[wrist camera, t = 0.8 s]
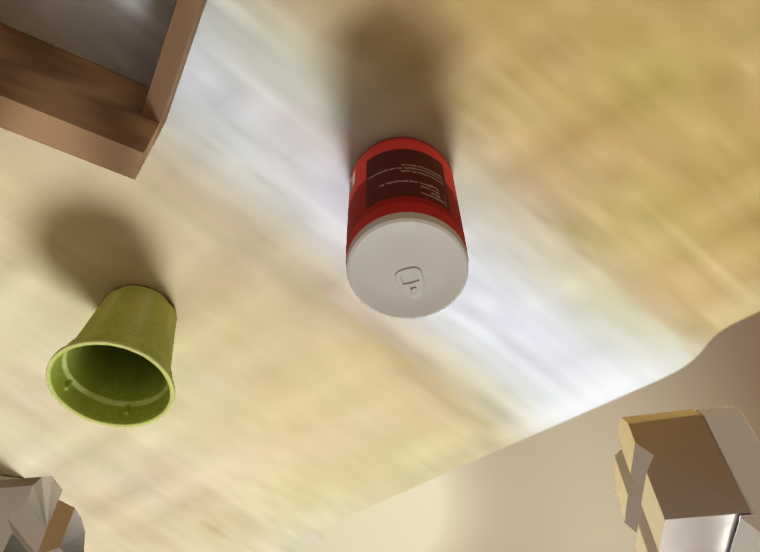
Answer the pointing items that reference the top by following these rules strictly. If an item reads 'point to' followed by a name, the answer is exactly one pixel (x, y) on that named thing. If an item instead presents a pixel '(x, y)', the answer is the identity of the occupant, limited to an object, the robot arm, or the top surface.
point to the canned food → (404, 230)
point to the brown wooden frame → (91, 96)
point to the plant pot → (119, 361)
